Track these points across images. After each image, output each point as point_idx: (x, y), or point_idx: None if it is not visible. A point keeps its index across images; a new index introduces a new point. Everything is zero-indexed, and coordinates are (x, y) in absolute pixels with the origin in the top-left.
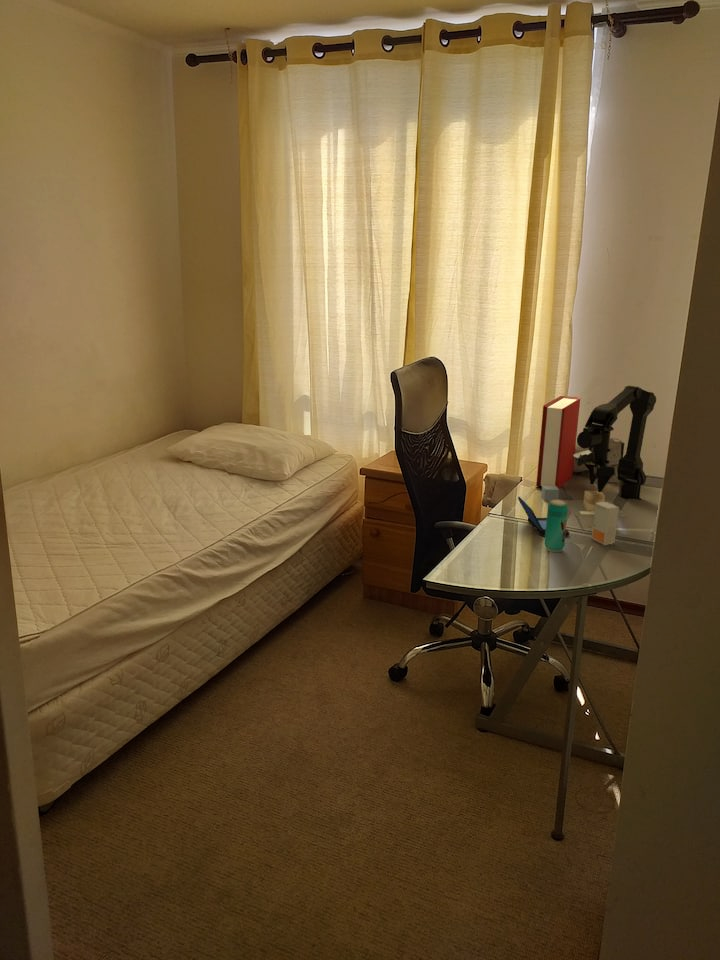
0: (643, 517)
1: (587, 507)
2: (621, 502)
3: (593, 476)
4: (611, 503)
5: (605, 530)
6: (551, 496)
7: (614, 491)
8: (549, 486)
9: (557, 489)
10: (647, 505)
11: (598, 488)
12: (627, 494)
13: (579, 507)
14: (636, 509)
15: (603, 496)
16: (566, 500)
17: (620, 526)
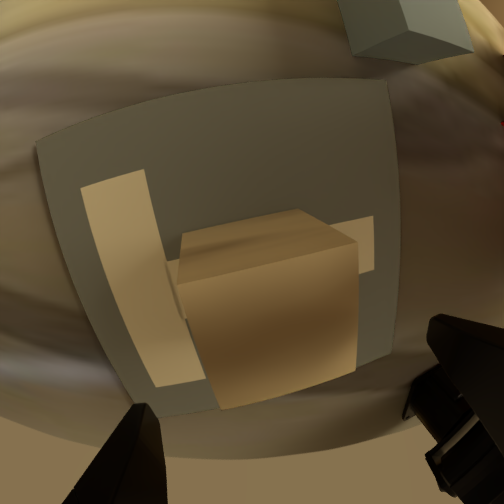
0: (197, 451)
1: (191, 237)
2: (388, 380)
3: (484, 380)
4: (358, 359)
5: None
6: (363, 2)
7: None
8: (449, 4)
9: (411, 21)
10: (351, 441)
11: (113, 436)
12: (426, 397)
13: (244, 176)
14: (302, 431)
15: (217, 396)
16: (385, 110)
17: (25, 372)
